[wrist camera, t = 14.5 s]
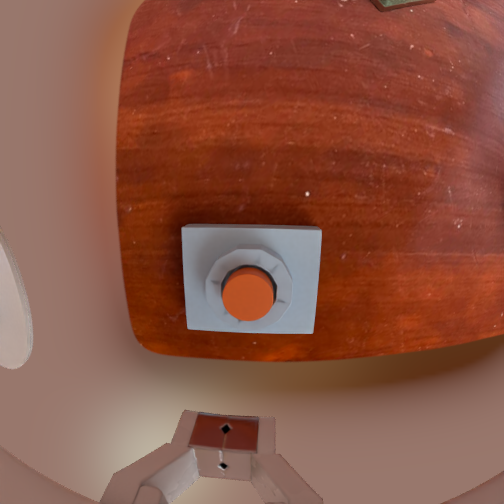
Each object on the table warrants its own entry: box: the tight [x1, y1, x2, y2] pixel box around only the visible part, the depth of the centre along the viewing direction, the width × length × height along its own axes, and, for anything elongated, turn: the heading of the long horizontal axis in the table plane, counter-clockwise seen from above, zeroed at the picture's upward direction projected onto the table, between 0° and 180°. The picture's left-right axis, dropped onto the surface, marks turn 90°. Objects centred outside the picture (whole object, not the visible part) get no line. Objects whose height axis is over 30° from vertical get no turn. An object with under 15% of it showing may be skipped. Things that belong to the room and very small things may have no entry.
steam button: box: [222, 267, 273, 321], centre depth 20 cm, size 4×4×2 cm
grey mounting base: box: [182, 224, 322, 334], centre depth 23 cm, size 11×9×4 cm
